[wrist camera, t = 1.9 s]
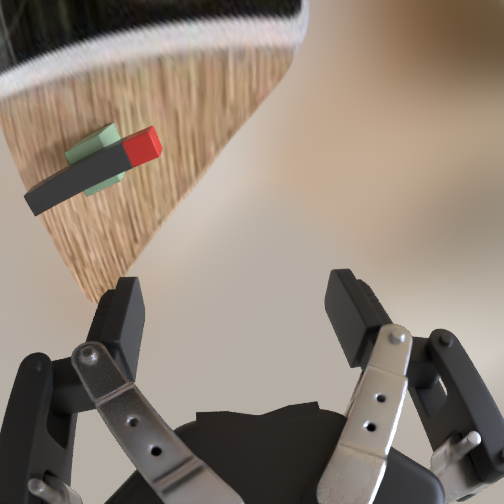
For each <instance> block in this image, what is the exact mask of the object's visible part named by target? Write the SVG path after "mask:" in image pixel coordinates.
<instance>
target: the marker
mask: <svg viewBox="0 0 504 504" xmlns="http://www.w3.org/2000/svg"><path fill="white" fill-rule="evenodd" d="M162 149H163V148H162V146H161V143H160V141H159V139H158V136H157V134H156V131H155V129H154V127H153V126H150V127H148V128H145V129H143V130H141V131H138V132H136V133H134V134H132V135H129V136H128V137H125V138H123V139H121V140H118V141H116V142H114V143H112V144H110V145H108V146H106V147H104V148H102V149H100V150H98V151H96V152H94V153H92V154H90V155H88V156H86V157H84V158H82V159H80V160H78V161H77V162H75V163H73V164H71V165H69V166H67V167H66V168H64V169H62V170H60V171H58V172H57V173H55V174H53V175H51V176H50V177H48V178H46V179H45V180H43V181H41V182H40V183H38V184H36V185H35V186H33V187H32V188H31V189H30V190H29V191H28V192H27V193H26V194H25V196H24V198H25V200H26V201H27V203H28V205H29V207H30V209H31V210H32V212H33V213H34V215H35V216H37V215H39V214H41V213H42V212H44V211H46V210H48V209H50V208H52V207H53V206H55V205H57V204H59V203H61V202H63V201H65V200H67V199H69V198H71V197H72V196H74V195H76V194H78V193H80V192H82V191H84V190H86V189H88V188H91V187H93V186H95V185H97V184H99V183H101V182H103V181H105V180H107V179H110V178H112V177H114V176H116V175H118V174H120V173H123V172H125V171H127V170H130V169H132V168H133V167H136V166H138V165H141V164H143V163H146V162H148V161H150V160H153V159H155V158H158V157H159V156H160V154H161V151H162Z"/></svg>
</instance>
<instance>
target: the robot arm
mask: <svg viewBox="0 0 504 504" xmlns="http://www.w3.org/2000/svg"><path fill="white" fill-rule="evenodd" d="M325 310H326V313H327V315H328V317H329V319H330V322H331V324H332V326H333V328H334V331H335V333H336V335H337V337H338V340H339V342H340V344H341V347H342V349H343V351H344V354H345V356H346V358H347V361H348V363H349V365H350V368H354V367H361V369H362V372H361V374H360V377H359V379H358V382H357V384H356V387H355V389H354V392H353V394H352V397H351V399H350V402H349V404H348V406H347V409H346V411H345V413H344V415H341V414H339V413H336V412H333V411H329V410H323V409H320V408H319V405H318V402H317V401H316V402H310V403H302V404H296V405H288V406H286V407H283V408H280V409H277V410H275V411H272V412H269V413H266V414H263V415H250V414H242V413H236V412H229V411H220V412H197V413H196V421H192V422H189V423H187V424H184V425H182V426H180V427H178V428H176V429H175V430H172V429H171V428H170V427H169V426H168V425H167V424H166V422H165V421H164V420H163V419H162V418H161V416H160V415H159V414H158V413H157V412H156V410H155V409H154V408H153V407H152V406H151V404H150V403H149V402H148V401H147V399H146V398H145V397H144V395H143V394H142V393H141V392H140V390H139V389H138V388H137V387H136V385H135V384H134V383H130V382H135V378H136V371H137V364H138V358H139V351H140V345H141V338H142V333H143V327H144V322H145V307H144V302H143V297H142V293H141V288H140V283H139V279H138V277H120V278H119V280H118V283H117V286H116V289H111V290H107V292H106V293H105V294H104V295H103V296H102V297H101V299H100V301H99V304H98V309H97V310H96V313H95V316H94V318H93V322H92V324H91V327H90V330H89V333H88V336H87V339H86V342H85V343H83V344H81V345H79V346H78V347H77V348H76V349H75V350H74V351H73V353H72V356H71V357H68V358H64V359H60V360H55V361H51V360H50V358H49V357H48V356H47V355H46V354H44V353H40V352H37V353H33V354H30V355H28V356H27V357H26V358H25V359H24V360H23V361H22V362H21V364H20V366H19V369H18V373H17V375H16V378H15V381H14V385H13V388H12V391H11V394H10V398H9V401H8V405H7V408H6V412H5V416H4V420H3V424H2V428H1V432H0V504H83V502H82V499H81V497H80V495H79V494H78V493H77V492H76V491H75V490H74V489H72V488H71V487H70V484H71V469H72V457H73V446H74V438H75V429H76V422H77V415H78V412H83V411H88V410H93V409H97V410H98V412H99V414H100V416H101V417H102V419H103V420H104V422H105V424H106V425H107V427H108V428H109V430H110V431H111V433H112V434H113V436H114V437H115V439H116V440H117V442H118V443H119V445H120V446H121V447H122V449H123V450H124V452H125V453H126V455H127V456H128V457H129V459H130V460H131V462H132V463H133V464H134V465H135V467H136V468H137V469H136V471H135V472H134V473H133V474H132V475H131V476H130V477H129V478H128V479H127V480H126V481H125V482H124V483H123V485H121V487H120V488H119V489H118V490H117V491H116V492H115V493H114V494H113V495H112V496H111V497H110V498H109V499H108V500H107V501H106V502H105V503H104V504H449V503H452V502H454V501H458V502H461V501H465V500H467V499H469V498H471V497H472V496H474V495H476V494H477V493H479V492H481V491H482V490H484V489H486V488H487V487H489V486H491V485H492V484H494V483H495V482H497V481H498V480H500V479H501V478H503V477H504V419H503V417H502V415H501V413H500V411H499V409H498V407H497V405H496V403H495V402H494V400H493V398H492V396H491V394H490V392H489V391H488V389H487V387H486V385H485V383H484V382H483V380H482V378H481V376H480V375H479V373H478V371H477V370H476V368H475V366H474V365H473V363H472V361H471V360H470V358H469V356H468V355H467V353H466V352H465V350H464V348H463V347H462V345H461V343H460V342H459V340H458V339H457V337H456V336H455V335H454V334H453V333H451V332H450V331H447V330H445V329H436V330H434V331H432V333H431V334H430V336H429V338H422V337H413V336H412V335H411V333H410V332H409V331H408V330H407V329H406V328H404V327H403V326H401V325H398V324H393V322H392V321H391V319H390V318H389V316H388V314H387V313H386V311H385V310H384V308H383V306H382V305H381V303H380V302H379V300H378V299H377V297H376V296H375V294H374V293H373V291H372V290H371V288H370V286H368V285H367V284H366V283H365V282H363V281H362V280H360V279H358V280H357V279H356V278H355V276H354V275H353V273H352V271H351V270H350V269H334V270H332V271H331V273H330V277H329V281H328V286H327V291H326V295H325ZM439 378H441V380H442V381H443V383H444V385H445V387H446V390H447V396H446V394H445V392H444V389H443V387H442V385H441V384H440V382H439ZM407 388H408V391H409V393H410V395H411V398H412V400H413V402H414V405H415V407H416V409H417V412H418V414H419V417H420V419H421V421H422V424H423V426H424V429H425V431H426V434H427V436H428V439H429V442H430V444H431V447H432V449H433V452H434V453H433V454H432V457H431V467H430V470H428V469H427V468H425V467H423V466H422V465H420V464H418V463H417V462H415V461H413V460H412V459H410V458H409V457H407V456H405V455H404V454H402V453H401V452H399V451H397V450H396V449H394V448H393V447H391V443H392V440H393V437H394V433H395V430H396V427H397V423H398V419H399V416H400V412H401V409H402V405H403V401H404V397H405V393H406V389H407Z"/></svg>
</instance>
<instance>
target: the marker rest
mask: <svg viewBox="0 0 504 504" xmlns="http://www.w3.org/2000/svg"><path fill="white" fill-rule="evenodd" d="M118 140H121V139H120V137H119V134H118V132H117V130H116V127H115V125H114V123H112V124H110V125H108V126H106V127H104V128H102V129H100V130H98V131H96V132H94V133H92V134H90V135H88V136H86V137H84V138H83V139H81V140H80V141H79V142H78V143H76V144H75V145H74V146H73V147H71V148H70V149H69V150H68V151H67V152H65V153H64V154H65V156H66V158H67V160H68V162H69V164H70V165H71V164H73V163H75V162H77V161H78V160H80V159H82V158H84V157H86V156H88V155H90V154H92V153H94V152H96V151H98V150H100V149H102V148H104V147H106V146H108V145H110V144H112V143H114V142H116V141H118ZM125 172H126V171H125ZM125 172H123V173H120V174H118V175H116V176H114V177H112V178H110V179H107V180H105V181H103V182H101V183H99V184H97V185H95V186H93V187H91V188H88V189H86V190H84V193H85V195H86V197H88V196H90V195H92V194H94V193H96V192H98V191H100V190H102V189H105V188H107V187H109V186H111V185H113V184H116V183H118V182H120V181H121V179H122V177H123V176H124V174H125Z"/></svg>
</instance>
